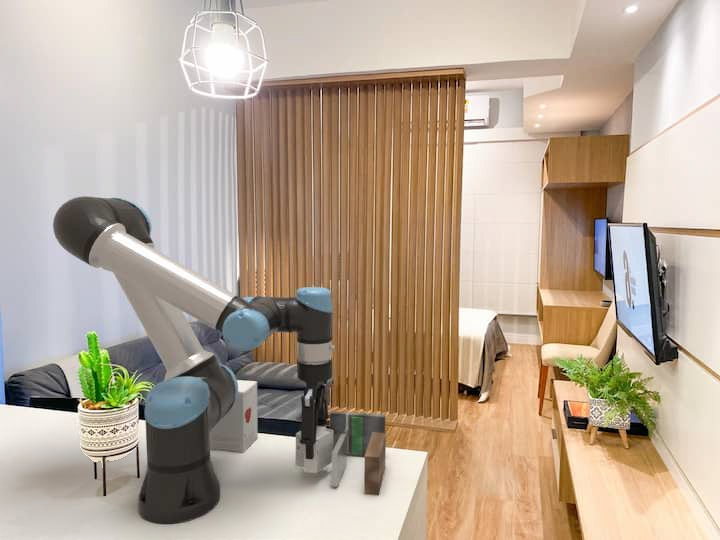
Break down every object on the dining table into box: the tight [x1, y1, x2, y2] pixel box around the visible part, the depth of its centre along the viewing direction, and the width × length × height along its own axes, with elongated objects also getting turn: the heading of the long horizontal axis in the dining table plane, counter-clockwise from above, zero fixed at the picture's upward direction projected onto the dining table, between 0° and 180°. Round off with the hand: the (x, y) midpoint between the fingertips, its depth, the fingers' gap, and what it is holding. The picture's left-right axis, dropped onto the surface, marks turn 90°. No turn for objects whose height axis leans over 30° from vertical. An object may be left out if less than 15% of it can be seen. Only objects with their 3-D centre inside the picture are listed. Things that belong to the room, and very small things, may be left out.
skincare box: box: [295, 426, 333, 473], centre depth 112 cm, size 6×6×7 cm
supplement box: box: [210, 379, 258, 453], centre depth 127 cm, size 9×9×15 cm
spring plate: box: [331, 412, 349, 487], centre depth 114 cm, size 1×15×10 cm, turn 171°
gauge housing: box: [329, 411, 387, 496], centre depth 114 cm, size 14×18×10 cm
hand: (315, 462), depth 112 cm, fingers closed on skincare box, 7 cm apart
